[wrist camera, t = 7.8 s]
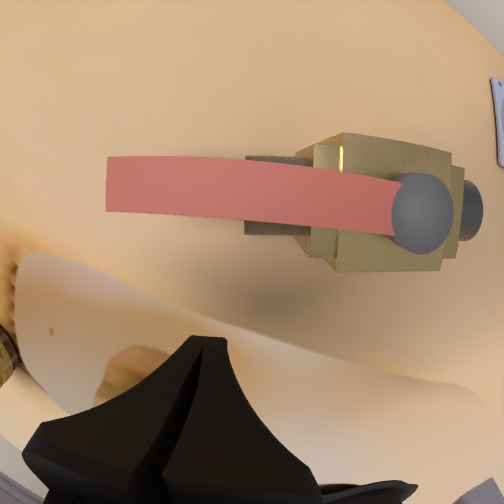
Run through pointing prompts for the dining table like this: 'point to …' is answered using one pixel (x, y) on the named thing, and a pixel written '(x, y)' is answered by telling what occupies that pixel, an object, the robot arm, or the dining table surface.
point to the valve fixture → (384, 167)
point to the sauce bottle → (6, 357)
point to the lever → (284, 196)
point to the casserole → (372, 493)
